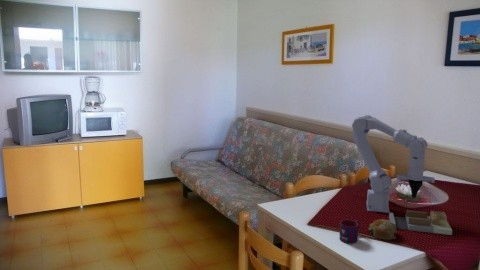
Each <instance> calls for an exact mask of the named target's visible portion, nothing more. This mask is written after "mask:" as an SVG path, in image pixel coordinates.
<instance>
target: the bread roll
mask: <svg viewBox="0 0 480 270" xmlns="http://www.w3.org/2000/svg"><path fill="white" fill-rule="evenodd" d="M367 231H368V232H369V234H370V235H371V236H372V235H373V236H372V237H373V238H377V239H378V238H379V240H385V241H386V240H387V241H389V240H395V239H397V237H396V236H397V233H398V229H396V226H395V225H394V224H393V223H392V222H390V219H384V218H381V219H380V218H379V219H376V220H374V221H373V222H372V223H370V224H369V225H368V229H367Z"/></svg>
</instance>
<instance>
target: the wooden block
mask: <svg viewBox="0 0 480 270" xmlns="http://www.w3.org/2000/svg"><path fill="white" fill-rule="evenodd" d="M429 214H430V215H429V217H430V220H431V223H432V225H439V226H446V220H447V219H448V218H447V217H448V216H447V215H446V213H445V212H444V211H436V210H430V213H429ZM447 221H448V220H447Z"/></svg>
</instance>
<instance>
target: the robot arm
mask: <svg viewBox="0 0 480 270" xmlns="http://www.w3.org/2000/svg"><path fill="white" fill-rule="evenodd" d="M351 127H352V140H353V142H354V143H355V145H356V147H357V150H358V152H359V154H360V156H361V158H362V159H363V162H364V164H365V166H366V168H367V170H368V171H369V172H368V173H369V176H368V178H369V181H370V187H371V189H367V195H366V196H367V197H366V202H365V203H366V211H369V212H377V213H378V212H379V213H387V214H389V212H390V208H389V200H390V187H391V186H392V184H393V183H392V178H391V177H390V176H389V175H388V173H387V172H386V170H384V169H383V168H382V167H381V166H380V163H379V161H378V159H377V157H376V156H375V153H374V151H373V148H372V147H371V145H370V143H369V141H368V139H367V136H368V133H369V131H370V130H377V131H379V132H381V133H383V134H385V135H388V136H390V137H391V138H393V142H396V143H397V144H399V145H401V146H403V147H405V148H408V150H409V153H410V154H409V163H408V173H407V174H396V181H408V185H409V187H410V191H411V198H413V199H415V198H417V195H418V193H419V190H420V189H421V187H422V186H423V184H424V183H425V182H426V183H432V184H434V183H435V181H436V178H435V177H433V176H428V175H424V170H425V169H424V168H425V157H426V149H427V148H428V142H427V140H426V139H425V138H424V137H419V136H418V135H413V134H411V133H409V132H407V129H396V128H394V127H392V126H390V125H388V124H386V123H385V122H383V121H381V120H379V119H378V118H376V117H373V116H371V115H369V114H368V115H367V114H366V115H363V116H357V117H356V118H355V119H353V121H352V124H351ZM423 182H424V183H423Z"/></svg>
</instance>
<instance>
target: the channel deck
mask: <svg viewBox="0 0 480 270" xmlns="http://www.w3.org/2000/svg"><path fill="white" fill-rule="evenodd" d="M388 220H390V222H392V223H393V224H394V225H395V226H396V229H397V230H405V231H413V232H422V233H428V234H429V233H431V234H439V235H440V234H441V235H449V236H452V235H453V229H452V227H451V225H450V223H449V222H448V220H446V226H439V225H432V223H431V220H430V215H429V216H428V212H427V211H419V210H418V211H417V210H408V209H406V211H405V217H400V216H394V212H390V211H389V213H388Z"/></svg>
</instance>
